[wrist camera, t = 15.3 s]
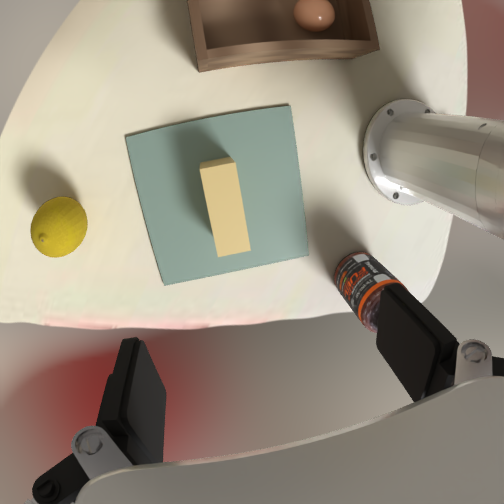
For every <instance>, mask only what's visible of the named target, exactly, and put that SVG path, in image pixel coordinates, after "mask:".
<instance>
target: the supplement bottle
mask: <svg viewBox="0 0 504 504" xmlns="http://www.w3.org/2000/svg"><path fill="white" fill-rule="evenodd" d="M334 280H335V285H336V287H337V289H338V291H339V292H340V294H341V295H342V296H343V298H344V299H345V300H346V302H347V303H348V305H349V306H350V307H351V309H352V310H353V311H354V313H355V314H356V316H357V317H358V318H359V320H360V321H361V322H362V324H363V325H364V326H365V327H366V328H367V329H368V330H370V331H372V332H376V333H377V329H378V319H379V307H380V294H381V291H382V290H384V287H385V286H386V285H390V284H393V283H400V284H401V285H402V286H403V287H404V288H405V289H406V290H407V288H406V287H405V286H404V285H403V284H402V283H401V282H400V281H399V280H398V279H397V278H396V277H395V276H394V275H392V274H391V273H390V272H389V271H388V270H387V269H386V268H385V267H384V266H383V265H382V264H380V263H379V262H378V261H377V260H376V259H375V258H374V257H372V256H371V255H370V254H368V253H364V252H357V253H353V254H351V255H348V256H347V257H346V258H344V259H343V260H342V261H341V262H340V264H339V265H338V267H337V269H336V272H335V277H334ZM407 291H408V290H407Z"/></svg>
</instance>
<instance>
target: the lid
mask: <svg viewBox="0 0 504 504" xmlns="http://www.w3.org/2000/svg"><path fill="white" fill-rule="evenodd" d="M126 142H127V146H128V151H129V156H130V160H131V165H132V169H133V173H134V178H135V182H136V186H137V190H138V194H139V198H140V202H141V206H142V210H143V214H144V218H145V221H146V225H147V229H148V232H149V236H150V239H151V243H152V246H153V250H154V253H155V257H156V260H157V263H158V267H159V270H160V273H161V277H162V280H163V283H164V286H165V285H170V284H175V283H180V282H185V281H190V280H195V279H200V278H205V277H210V276H215V275H219V274H224V273H229V272H234V271H239V270H243V269H248V268H253V267H258V266H262V265H267V264H272V263H276V262H281V261H286V260H290V259H295V258H300V257H304V256H309V252H308V242H307V231H306V222H305V212H304V203H303V194H302V186H301V178H300V170H299V162H298V154H297V147H296V139H295V132H294V125H293V119H292V112H291V106H283V107H274V108H267V109H259V110H252V111H246V112H239V113H233V114H227V115H221V116H216V117H211V118H205V119H200V120H195V121H191V122H186V123H181V124H177V125H172V126H168V127H164V128H160V129H156V130H152V131H148V132H144V133H140V134H136V135H133V136H129V137H126Z"/></svg>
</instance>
